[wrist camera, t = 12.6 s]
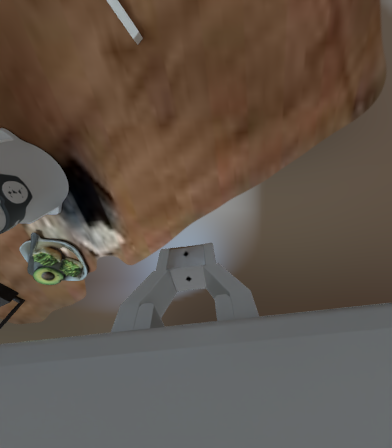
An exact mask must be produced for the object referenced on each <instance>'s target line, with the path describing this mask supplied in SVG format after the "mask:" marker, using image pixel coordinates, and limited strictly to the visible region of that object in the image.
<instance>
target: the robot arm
mask: <svg viewBox="0 0 392 448" xmlns="http://www.w3.org/2000/svg"><path fill="white" fill-rule="evenodd" d="M68 191H69V185H68V180H67V178H66V175H65V173H64V171H63V170H62V168H61V167H60V165H59V164H58V163H57V162H56V161H55V160H54V159H53V158H52V157H51V156H50V155H49V154H47V153H46V152H45V151H43V150H42V149H40V148H38V147H36V146H34V145H32V144H30V143H27V142H25V141H23V140H21V139H19V138H18V137H17V136H15V135H14V134H13V133H11V132H10V131H8V130H7V129H4V128H0V234H1V233H3V232H5V231H8V230H10V229H11V228H13V227H15V226H16V225H17V224H18V223H27V224H30V223H33V222H35V221H36V220H38V219H40V218H41V217H43V216H45V215H46V214H49V215H56V214H59V213H60V212H61V210H62V203H63V201H64V200H65V199H66V197H67V195H68ZM204 288H207V290H208V291H209V293H210V294H211V295H212V296H213V298H214V299H215V305H216V313H217V321H215V322H206V323H197V324H187V325H177V326H168V327H165V326H164V324H163V322H162V320H161V317H162V316H163V314H164V312H165V311H166V309H167V307H168V306H169V304H170V303H171V301H172V299H173V298H174V296H175V294H176V292H179V291H185V290H192V289H193V290H194V289H204ZM0 448H392V303H385V304H375V305H367V306H356V307H347V308H338V309H329V310H319V311H309V312H300V313H290V314H282V315H271V316H262V317H259V314H258V312H257V309H256V306H255V303H254V300H253V297H252V294H251V291H250V290H249V289H248V288H247V287H245V286H244V285H243V284H242V283H241V282H240V281H239V280H237V279H236V278H235V277H234V276H232V274H230V273H229V272H228V271H227V270H226V269H225V268H223V267H222V266H221V265H220V264H219V263H218V264H216V260H215V254H214V249H213V244H212V243H208V244H204V245H203V244H202V245H195V246H187V247H178V248H170V249H162V250H161V251H160V254H159V259H158V263H157V268H156V271H154V272H152V273H151V274H150V275H149V276H148V277H147V278H146V280H145V281H144V282H143V283H142V284H141V285H140V286H139V287H138V288H137V289H136V290H135V291H134V292H133V293H132V294H131V295H130V296H129V297H128V298H127V299H126V300H125V301H124V302H123V303H122V304H121V306H120V308H119V311H118V314H117V317H116V319H115V322H114V325H113V328H112V330H111V333H102V334H93V335H84V336H73V337H64V338H54V339H45V340H35V341H26V342H17V343H7V344H0Z"/></svg>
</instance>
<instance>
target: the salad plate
mask: <svg viewBox="0 0 392 448" xmlns="http://www.w3.org/2000/svg"><path fill="white" fill-rule="evenodd" d="M61 247H65V248H67V249H69V250H71V251H72V252H73V253H74V254H75V255H76V256H77V257H78V259H79V261H77V260H75V259H72V258H68V257H66V256H64V255H63V254H62V253H61V251H60V250H59V249H58V248H61ZM20 252H21V253H22V255H23V257H24V258H25V259H26V261H27V262H28V273H29V274H30V275H33V278H34V279H35V280H36V281H37V282H39V283H41V284H46V285H54V284H58V283H60V282H61V280H68V281H79V280H83V279H84V278H85V277H86V276H87V274H88V266H87V265H86V263H85V262H84V259H83V257H82V256H81V254H80V253H79V251H78V250H77V249H76V248H75V247H74V246H72V245H71V244H69V243H66V242H64V241H61V240H54V239H42V238H40V236H39V235H38V234H37V233H32V234H31V240H29V241H26V242H25V243H24V244H22V246H21V247H20Z"/></svg>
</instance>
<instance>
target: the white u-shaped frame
mask: <svg viewBox="0 0 392 448" xmlns="http://www.w3.org/2000/svg"><path fill="white" fill-rule="evenodd" d="M107 2H108V3H109V5H110V6H111V7H112V9H113V10H114V12H115V13H116V15H117V16H118V18H119V19H120V21H121V22H122V23H123V25H124V26H125V28H126V29H127V31H128V32H129V34H130V35H131V36H132V38H133V39H134V41H135V42H136V43H137V45H138V44H139V43H140V41H141V40H142V39H143V37H142V36H141V34H140V33H139V31H138V30H137V28H136V27H135V25H134V24H133V22H132V21H131V19H130V18H129V16H128V15H127V13H126V12H125V10H124V9H123V7H122V6H121V4H120V3H119V1H118V0H107Z"/></svg>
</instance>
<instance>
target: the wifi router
mask: <svg viewBox="0 0 392 448" xmlns="http://www.w3.org/2000/svg"><path fill="white" fill-rule="evenodd" d="M17 294H18V293H17V292H16V291H14V290H12V289H10V288H8V287H6V286H5V285H3V284H1V283H0V307H1V306H3V305H5V304H7V303H10V302H11V301H12V300H14V301H16V302H18V304H17V305H16V306H15V308H14V309H13V310H12V311H11V312H10V313H9V314H8V315H7V316H6V318H5V319H4V320H3V321H2V322H1V323H0V329H1V327H2V326H3V325H4V324H5V323H6V322H7V321H8V320H9V319H10V317H11V316H12V315H13V314H14V313H15V312H16V311H17V309H18V308H19V307H20V306H21V305H22V304H23V303H24V301H25V300H21V299H19V298H17V297H15V296H16V295H17Z"/></svg>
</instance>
